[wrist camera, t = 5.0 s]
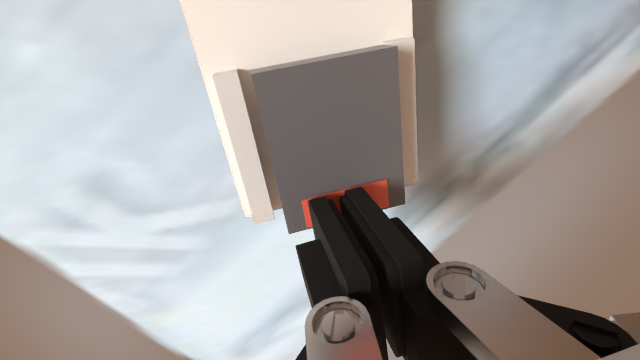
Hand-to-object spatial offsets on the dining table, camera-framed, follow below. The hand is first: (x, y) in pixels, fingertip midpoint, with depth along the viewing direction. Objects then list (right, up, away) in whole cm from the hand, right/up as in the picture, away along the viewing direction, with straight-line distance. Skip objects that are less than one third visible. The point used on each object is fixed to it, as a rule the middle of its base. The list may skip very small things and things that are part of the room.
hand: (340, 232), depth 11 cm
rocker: (0, +3, -1) cm, 3 cm away
